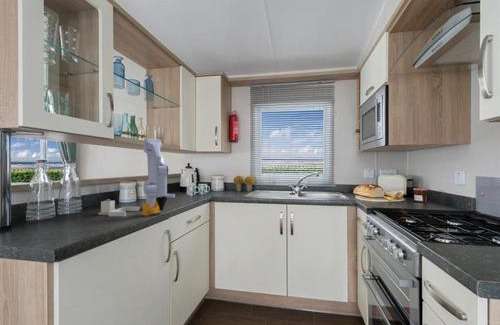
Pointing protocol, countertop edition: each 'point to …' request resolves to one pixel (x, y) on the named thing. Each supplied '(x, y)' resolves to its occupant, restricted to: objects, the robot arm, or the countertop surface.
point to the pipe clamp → (150, 208)
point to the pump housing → (107, 207)
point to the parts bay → (123, 211)
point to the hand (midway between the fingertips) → (161, 210)
